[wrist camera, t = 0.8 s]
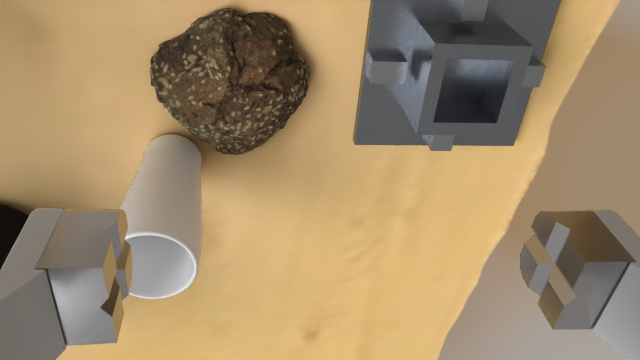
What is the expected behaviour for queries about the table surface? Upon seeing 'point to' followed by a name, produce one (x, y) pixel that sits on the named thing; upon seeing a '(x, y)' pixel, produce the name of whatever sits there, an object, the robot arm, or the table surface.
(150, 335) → the table surface
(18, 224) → the coffee jar
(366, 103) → the hollow box on baseplate
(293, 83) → the bread roll
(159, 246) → the drinking glass
